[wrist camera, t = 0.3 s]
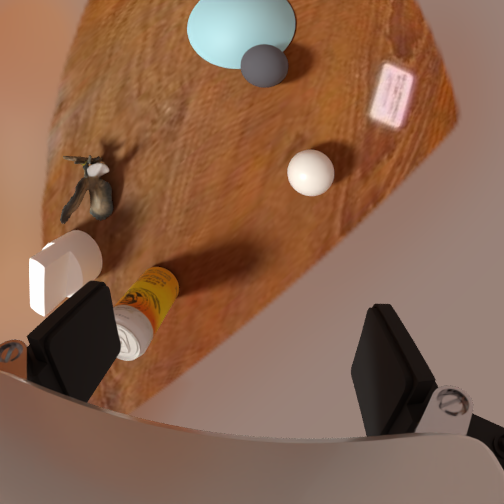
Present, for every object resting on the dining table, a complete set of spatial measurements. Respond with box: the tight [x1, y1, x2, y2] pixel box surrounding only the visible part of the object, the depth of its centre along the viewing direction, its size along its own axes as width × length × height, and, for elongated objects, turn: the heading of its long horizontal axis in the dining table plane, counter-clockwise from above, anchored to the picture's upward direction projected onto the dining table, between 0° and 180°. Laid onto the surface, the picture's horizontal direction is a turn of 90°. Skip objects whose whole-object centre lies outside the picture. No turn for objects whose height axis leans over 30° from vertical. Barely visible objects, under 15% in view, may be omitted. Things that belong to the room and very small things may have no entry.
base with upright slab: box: [29, 230, 102, 316], centre depth 37 cm, size 9×9×12 cm
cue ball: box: [287, 150, 334, 196], centre depth 33 cm, size 6×6×6 cm
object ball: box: [240, 44, 288, 87], centre depth 29 cm, size 6×6×6 cm
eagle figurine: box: [60, 155, 113, 224], centre depth 36 cm, size 8×8×10 cm
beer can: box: [113, 267, 179, 361], centre depth 36 cm, size 6×6×15 cm
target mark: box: [187, 0, 295, 69], centre depth 29 cm, size 14×14×1 cm
